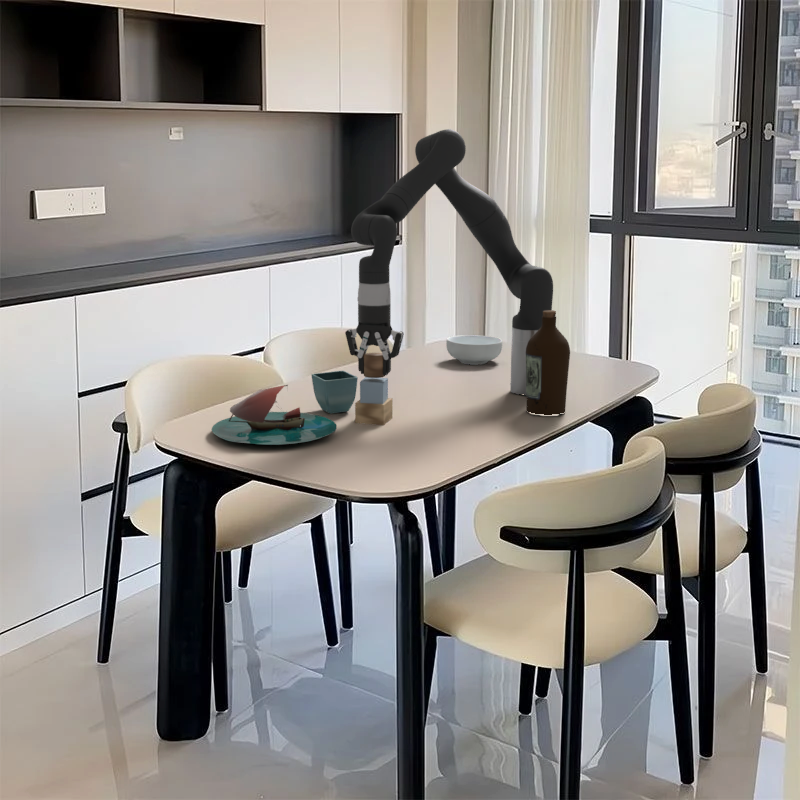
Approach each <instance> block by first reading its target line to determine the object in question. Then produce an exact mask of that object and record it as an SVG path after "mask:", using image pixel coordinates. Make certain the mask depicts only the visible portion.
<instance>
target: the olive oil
mask: <svg viewBox="0 0 800 800" xmlns="http://www.w3.org/2000/svg"><path fill="white" fill-rule="evenodd" d="M556 314H557V311H556V310H544V311H543V316H542V326H541V328H540V329H539V330H538V331H537V332H536V333H535V334H534V335H533V336H532V337H531V338H530V340H529V341H528V344H527V347H526V395H525V396H526V405H525V406H526V410H527V411H528V412H531V413H535V414H544V415H552V414H560V413H564V412H565V413H566V406H567V389H568V381H569V380H568V379H569V368H570V357H571V348H570V344H569V342H568V339H567V338H566V337H565V335H564V334H562V332H561V331H560V330H559V329H558V327H557V326H556V324H557V316H556ZM526 410H525V411H526ZM527 411H526V412H527ZM565 413H564V414H565Z"/></svg>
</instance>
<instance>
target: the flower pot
mask: <svg viewBox="0 0 800 800" xmlns="http://www.w3.org/2000/svg"><path fill="white" fill-rule="evenodd" d="M358 378H359V377H357V376H356V375H353V374H351V373H349V372H348V371H345V370H334V371H327V372H319V373H311V382H312V387H313V392H314V393H313V394H314V397H315V400H316V402H317V403H318V405H319V407H320V409H321V410H322V411H323V412H325V413H328V414H331V415H332V413H333V414H338V413H347V412H349V410H350V409H351V407H352V406H353V404H354V402H355V399H356V396H357V388H358V387H357V386H358V380H359V379H358Z"/></svg>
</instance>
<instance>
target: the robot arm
mask: <svg viewBox="0 0 800 800" xmlns="http://www.w3.org/2000/svg"><path fill="white" fill-rule="evenodd" d="M414 148H415V149H414V153H415V157H416V160H417V162H418V164H417V165H416V166H414V167H413V168H412V169H411V170H409V171H408V172H406V173H405V174H404V175H403V176H401V177H400V178H399V179H397V181H395V182H394V183H393V184H392V186H390V188H388V190H387V191H386V192H385V193H384V194H383V196H382V197H381V198H380V199H378V200H377V201H375V202H374V203H372V204H371V205H369V206H368V207H367V208H364V209H363V210H362V211H361V212H360V213H358V214H357V215H356V216H355V218H354V220H353V222H352V224H351V229H350V232H351V233H350V234H351V238H352V239H353V240H354V242H355V243H357V244H359V245H362V246H373V251H372V253H371V255H366V256H363V257H361V258H360V260H359V262H358V263H359V264H358V288H357V289H358V290H357V322H358V324H357V326H356V328H349V329H347V330H345V332H344V333H345V338H346V341H347V346H348V349H349V353H350V355H351V356H354V357H356V358H357V360H358V365H357V366H358V371H359V372H360V375H364V354H366V353H367V351H368V348H369V347H370V346H376V347H379V350H380V353H382V354H383V357H384V360H383V375H385V376H388V374H389V373H391V371H392V359H394V358H396V357H398V356H399V354H400V350H401V347H402V342H403V339H404V332H403V331H401V330H400V331H397V330H394V329H393V328H392V325H391V311H392V310H391V297H392V296H391V295H392V294H391V287H390V264H391V261H392V256H393V252H394V249H395V245H396V240H397V236H398V235H397V234H398V228H397V225H396V224H398V223H400V222H402V221H403V220H404V219H405V218H406V217H407V216H408V215H409V213H410V212H411V211H412V209H414V207H416V205H417V204H418V203H419V201H420V200H421V199H422V198H423V197H424V196H425V195H426V194H427V193H428V192H429V190H430V189H432V187H433V186H436V187H437V188H438V189H439V190H440V191H441V193H442V194H443V195H444V197H446V198H447V200H448V202H449V203H450V204H451V206H452V207H453V208H454V210H455V211H456V212H457V213H458V215H459V217H460V218H461V219H462V221H463V222H464V224H465V225H466V227H467V228H468V230H469V231H470V232H471V234H472V236H473V237H474V238H475V239H476V240H477V242H478V243H479V244H480V246H481V247H482V249H483V250H484V252H485V253H486V254H487V255H488V257H489V258H490V259H491V260H492V262H493V263H494V265H495V266H496V269H497V270H498V271H499V273H500V275H501V277H502V278H503V280H504V282H505V284H506V286H507V288H508V290H509V291H510V293H511V294H512V295H513V296H514V297H515V298H516V299H519V311H518V312H517V314H515V315H513V317H512V321H511V324H512V325H511V354H510V355H511V358H510V384H509V385H510V390H509V391H510V393H512V394H514V393H516V394H515V395H519V394H524V395H523V396H526V347H527V344H528V341H529V340H530V338H531V337H532V336H533V335H534V334H535V333H536V332H537V331H538V330H539V329H540V328H541V326H542V316H543V311H544V310H552V309H553V296H554V280H553V276H552V275H551V274H552V273H550V272H549V270H547V269H546V268H543V267H541V266H536V265H532V263H530V262H529V261H528V260H527V258H526V257H525V256H524V255H523V254H522V253H521V251H520V250H519V249H518V247H517V245H516V243H515V241H514V238H513V237H514V236H513V233H512V230H511V226H510V223H509V220H508V219H507V217H506V216H505V214H504V212H503V211H502V209H501V208H500V207H499V205H498V203H497V202H496V201H495V199H494V198H492V197H491V196H490V195H489V194H488V193H486V192H485V191H483V190H482V189H480V188H478V187H476V186H475V185H473V184H471V183H470V182H469V181H467V180H466V179H465V178H463V177H462V176H461V175H460V174H459V172H458V171H457V170H456V169H455V167H457V166H458V165H459V164H461V163H462V162H463V160H464V158H465V155H466V151H467V150H466V143H465V139H464V138H463V136H462V135H461V134H460V133H459V132H458V131H457V130H454V129H451V128H450V129H449V128H448V129H442V130H439V131H436V132H434V133H431V134H429V135H427V136H424V137H423V138H420V139H419V140H418V141H417V143H416V145H415V147H414ZM357 334H358V336H359V338H360V339H361V342H360V345H359V348H358V345H357V341H356V338H357ZM391 336H392V340H393V341H394V342H393V346H392V349H391V350H390V343H389V342H388V340H389V338H390V337H391Z"/></svg>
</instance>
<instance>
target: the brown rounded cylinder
mask: <svg viewBox="0 0 800 800" xmlns="http://www.w3.org/2000/svg"><path fill="white" fill-rule="evenodd" d="M383 360H384V357H383V354H382V352H366V354H364V374H363V377H364V378H365V377H368V378H385V376H386V375H383Z"/></svg>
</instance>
